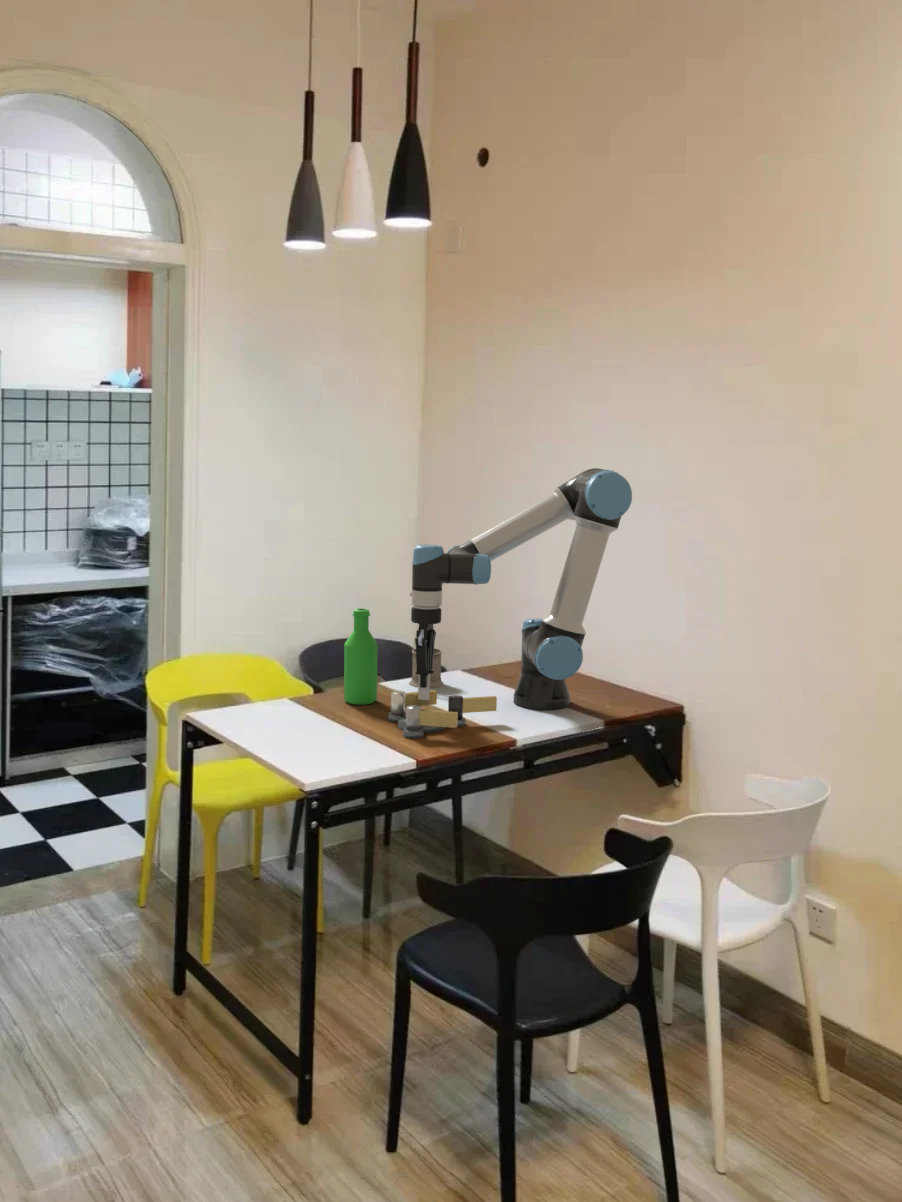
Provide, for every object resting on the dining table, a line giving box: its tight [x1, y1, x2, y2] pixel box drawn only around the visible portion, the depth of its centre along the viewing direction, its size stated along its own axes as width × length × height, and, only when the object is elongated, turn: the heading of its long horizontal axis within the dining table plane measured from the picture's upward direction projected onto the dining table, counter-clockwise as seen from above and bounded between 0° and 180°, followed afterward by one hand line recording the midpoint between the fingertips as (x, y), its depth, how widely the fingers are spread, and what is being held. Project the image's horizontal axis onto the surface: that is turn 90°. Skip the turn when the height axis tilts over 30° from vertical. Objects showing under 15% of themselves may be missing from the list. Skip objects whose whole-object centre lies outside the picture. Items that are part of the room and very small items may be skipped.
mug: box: [408, 647, 444, 689], centre depth 320 cm, size 14×10×12 cm
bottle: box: [343, 608, 378, 706], centre depth 300 cm, size 9×9×25 cm
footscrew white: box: [390, 689, 438, 716], centre depth 287 cm, size 12×4×6 cm, turn 119°
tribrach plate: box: [387, 711, 466, 740], centre depth 277 cm, size 20×18×2 cm
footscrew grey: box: [405, 705, 458, 732], centre depth 270 cm, size 12×4×6 cm, turn 77°
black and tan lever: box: [447, 694, 498, 720], centre depth 283 cm, size 12×4×6 cm, turn 108°
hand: (423, 699), depth 285 cm, fingers closed
